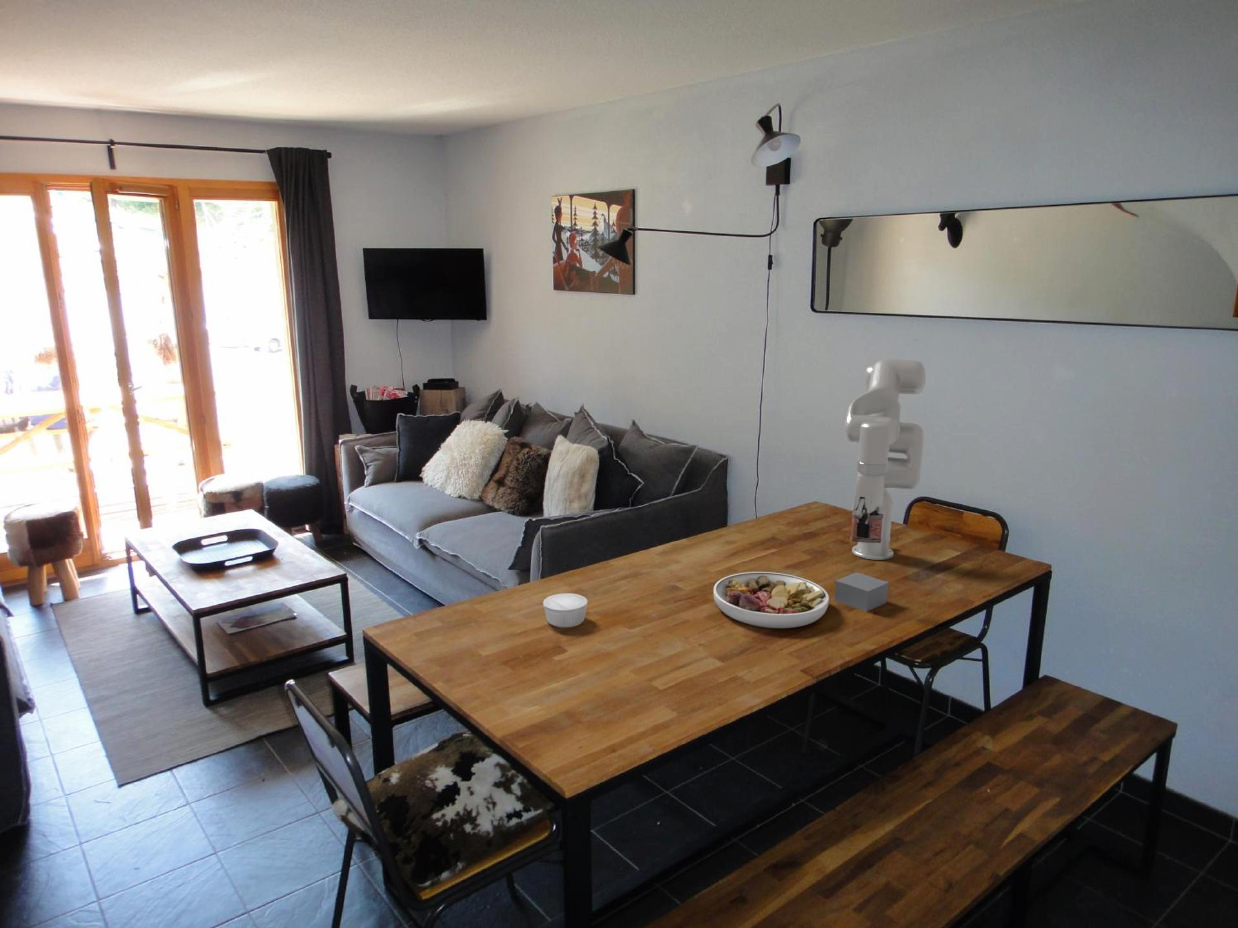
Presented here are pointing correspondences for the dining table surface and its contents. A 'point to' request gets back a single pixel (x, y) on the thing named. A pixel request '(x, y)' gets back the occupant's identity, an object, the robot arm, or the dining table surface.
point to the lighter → (874, 529)
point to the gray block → (861, 591)
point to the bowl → (770, 599)
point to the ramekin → (565, 609)
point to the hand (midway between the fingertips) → (866, 534)
